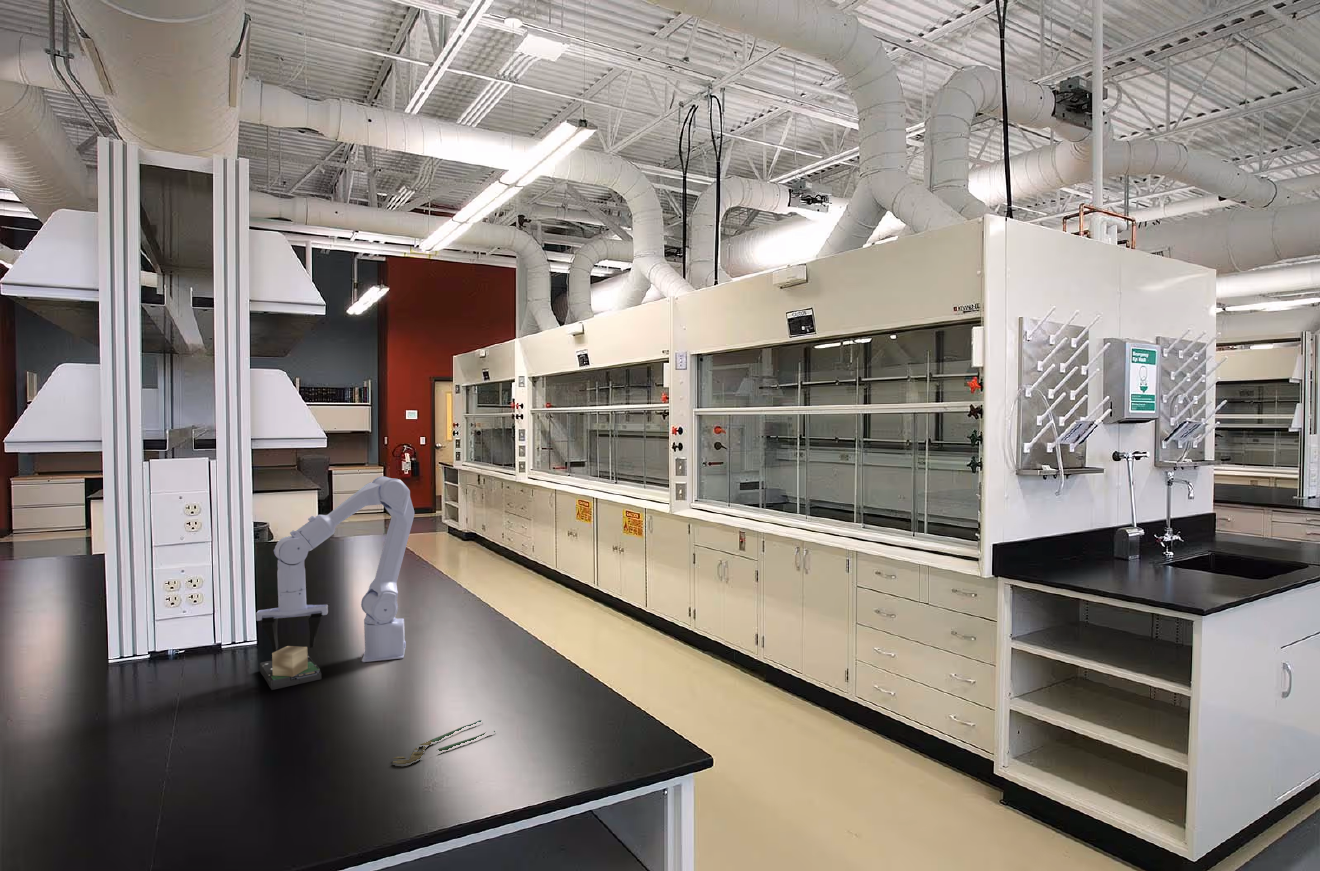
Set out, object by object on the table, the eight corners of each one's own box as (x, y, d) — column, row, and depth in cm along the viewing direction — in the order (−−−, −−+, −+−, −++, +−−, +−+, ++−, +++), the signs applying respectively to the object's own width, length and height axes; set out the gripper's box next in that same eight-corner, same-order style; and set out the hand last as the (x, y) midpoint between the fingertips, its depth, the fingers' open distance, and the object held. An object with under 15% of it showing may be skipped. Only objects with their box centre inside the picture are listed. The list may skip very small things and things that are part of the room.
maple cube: (307, 668, 164) (307, 646, 163) (292, 676, 159) (292, 654, 159) (288, 667, 165) (287, 645, 164) (272, 675, 160) (272, 653, 159)
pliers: (481, 725, 139) (481, 718, 139) (500, 734, 134) (500, 727, 134) (383, 760, 125) (383, 753, 125) (400, 772, 120) (400, 765, 120)
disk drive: (258, 674, 168) (271, 692, 156) (258, 662, 168) (271, 680, 156) (307, 664, 174) (322, 681, 163) (306, 652, 174) (322, 668, 163)
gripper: (329, 582, 171) (330, 639, 171) (260, 587, 167) (263, 645, 167) (324, 589, 164) (326, 648, 164) (253, 595, 160) (255, 655, 160)
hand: (293, 648), depth 165 cm, fingers open, 7 cm apart
